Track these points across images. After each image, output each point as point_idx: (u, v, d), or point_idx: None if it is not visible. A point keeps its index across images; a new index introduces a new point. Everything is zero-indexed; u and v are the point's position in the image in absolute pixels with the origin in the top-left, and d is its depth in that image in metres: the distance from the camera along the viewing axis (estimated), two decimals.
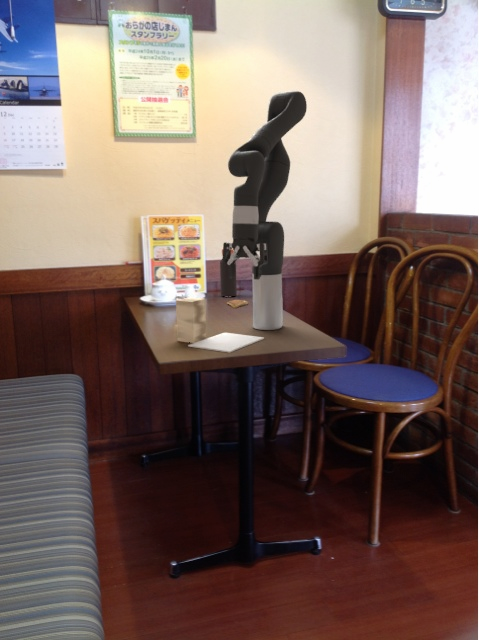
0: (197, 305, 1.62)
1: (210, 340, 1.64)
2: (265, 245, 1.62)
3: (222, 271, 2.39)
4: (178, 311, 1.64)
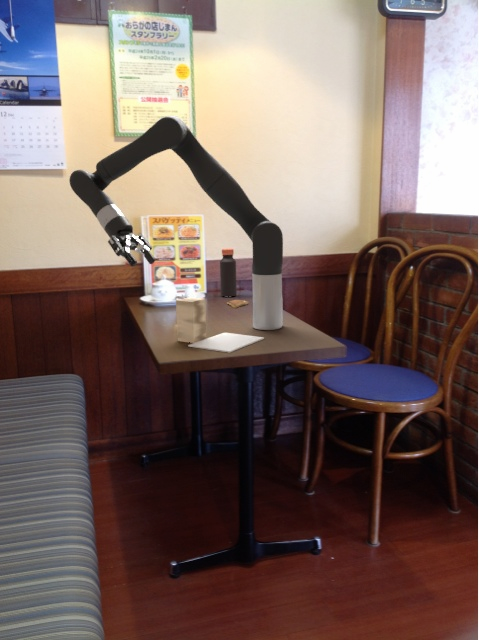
0: (197, 305, 1.62)
1: (210, 340, 1.64)
2: (110, 239, 1.66)
3: (222, 271, 2.39)
4: (178, 311, 1.64)
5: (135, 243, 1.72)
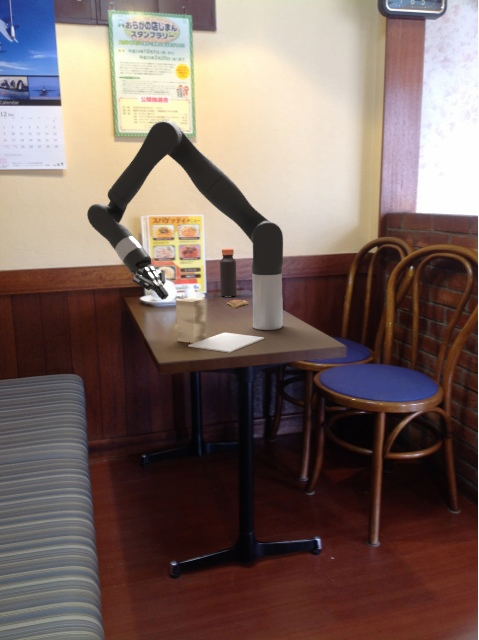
0: (197, 305, 1.62)
1: (210, 340, 1.64)
2: (136, 278, 1.67)
3: (222, 271, 2.39)
4: (178, 311, 1.64)
5: None
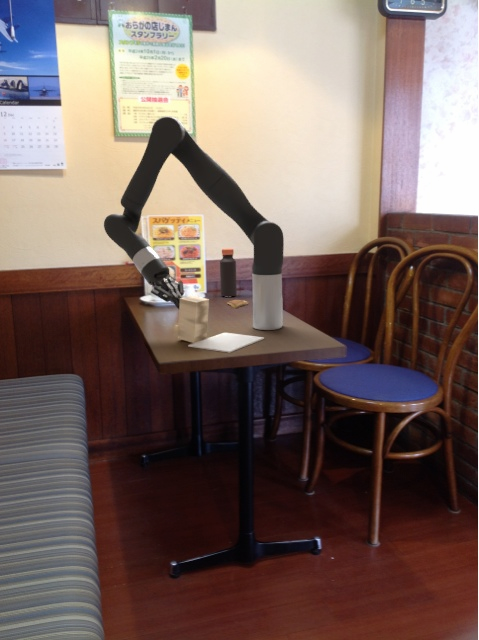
0: (201, 306, 1.62)
1: (210, 340, 1.64)
2: (154, 290, 1.63)
3: (222, 271, 2.39)
4: (181, 310, 1.63)
5: None
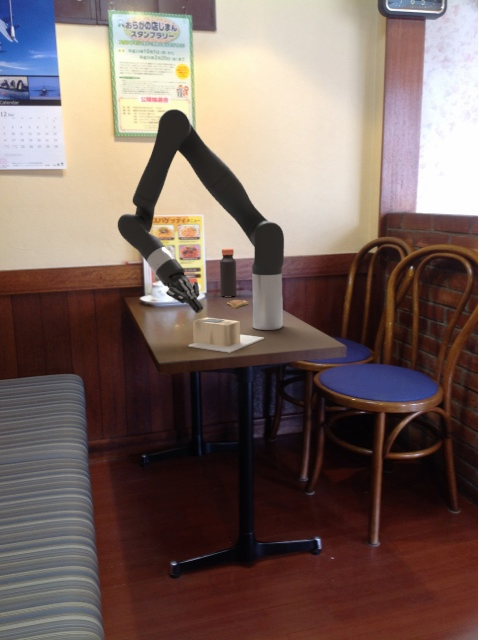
0: None
1: None
2: (170, 291, 1.60)
3: (222, 271, 2.39)
4: (218, 326, 1.57)
5: None
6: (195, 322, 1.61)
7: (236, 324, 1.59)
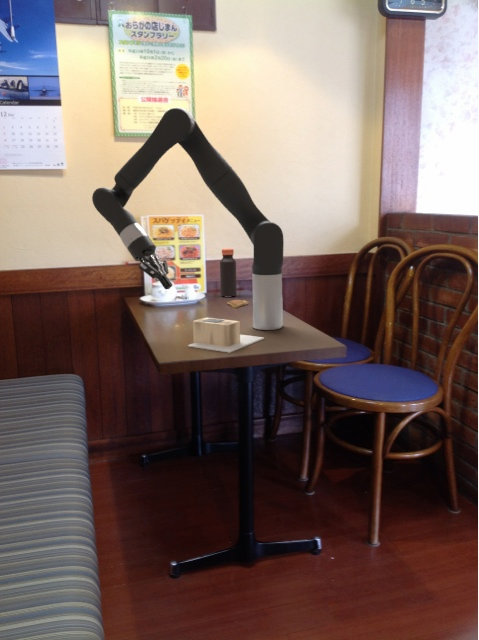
0: None
1: None
2: (143, 265, 1.65)
3: (222, 271, 2.39)
4: (218, 326, 1.57)
5: None
6: (195, 322, 1.61)
7: (236, 324, 1.59)
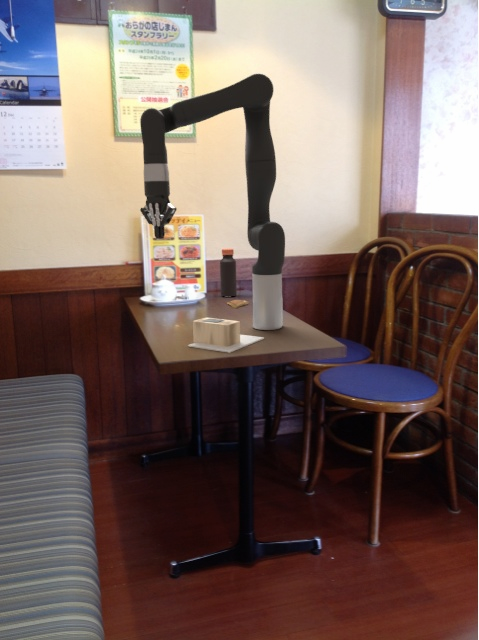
0: None
1: None
2: (173, 210, 1.68)
3: (222, 271, 2.39)
4: (218, 326, 1.57)
5: None
6: (195, 322, 1.61)
7: (236, 324, 1.59)
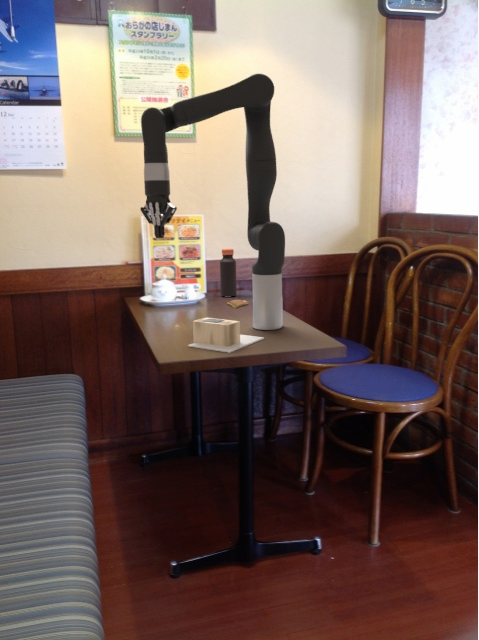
0: None
1: None
2: (174, 209, 1.68)
3: (222, 271, 2.39)
4: (218, 326, 1.57)
5: None
6: (195, 322, 1.61)
7: (236, 324, 1.59)
